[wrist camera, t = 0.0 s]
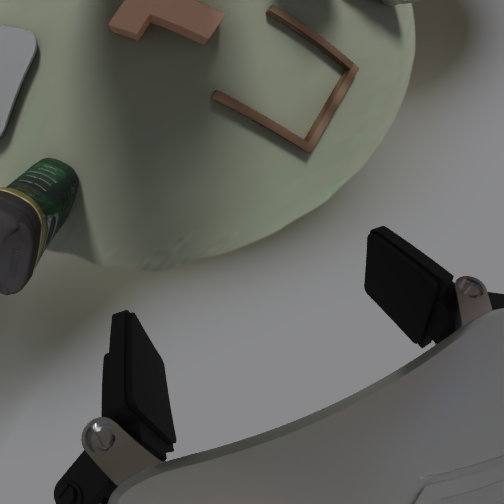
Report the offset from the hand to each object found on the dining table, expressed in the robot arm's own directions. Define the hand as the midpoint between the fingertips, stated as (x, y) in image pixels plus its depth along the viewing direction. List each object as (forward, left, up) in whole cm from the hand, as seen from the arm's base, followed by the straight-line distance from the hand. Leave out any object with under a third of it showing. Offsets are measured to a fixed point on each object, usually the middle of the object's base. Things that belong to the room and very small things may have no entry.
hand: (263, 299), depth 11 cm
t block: (-16, -12, -31) cm, 37 cm away
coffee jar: (+12, -16, -31) cm, 37 cm away
